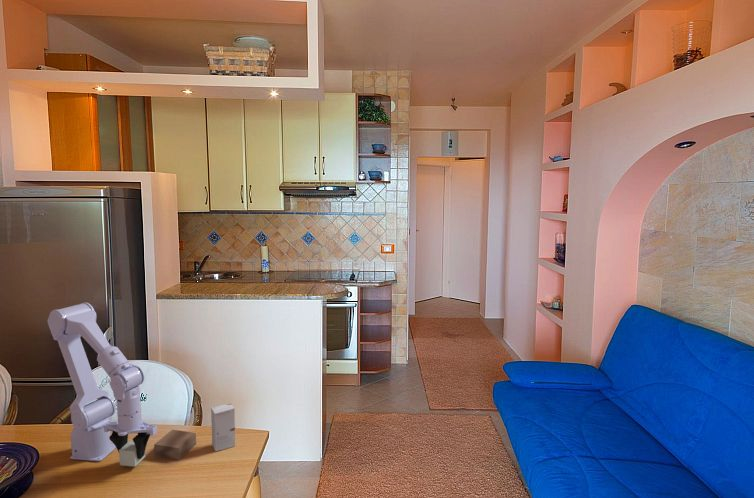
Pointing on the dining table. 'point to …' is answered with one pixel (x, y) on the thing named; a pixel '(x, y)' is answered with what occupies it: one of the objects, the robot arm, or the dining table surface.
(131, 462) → the sage cube
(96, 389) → the robot arm
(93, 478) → the dining table surface
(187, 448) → the walnut block
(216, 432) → the skincare box
